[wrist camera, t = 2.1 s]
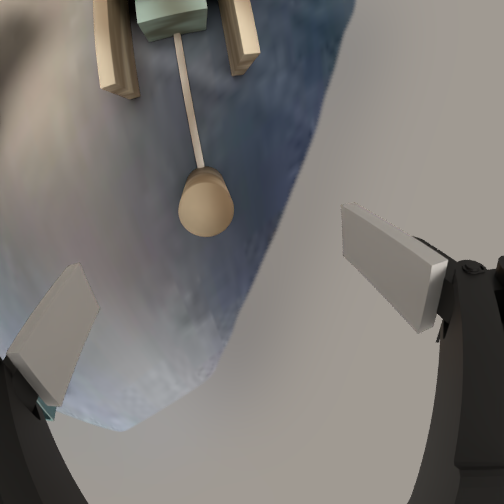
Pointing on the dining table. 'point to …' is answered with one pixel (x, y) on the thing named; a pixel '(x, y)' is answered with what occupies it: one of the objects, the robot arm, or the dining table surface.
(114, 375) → the dining table surface
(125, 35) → the tan wooden arch
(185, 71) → the tethered block
